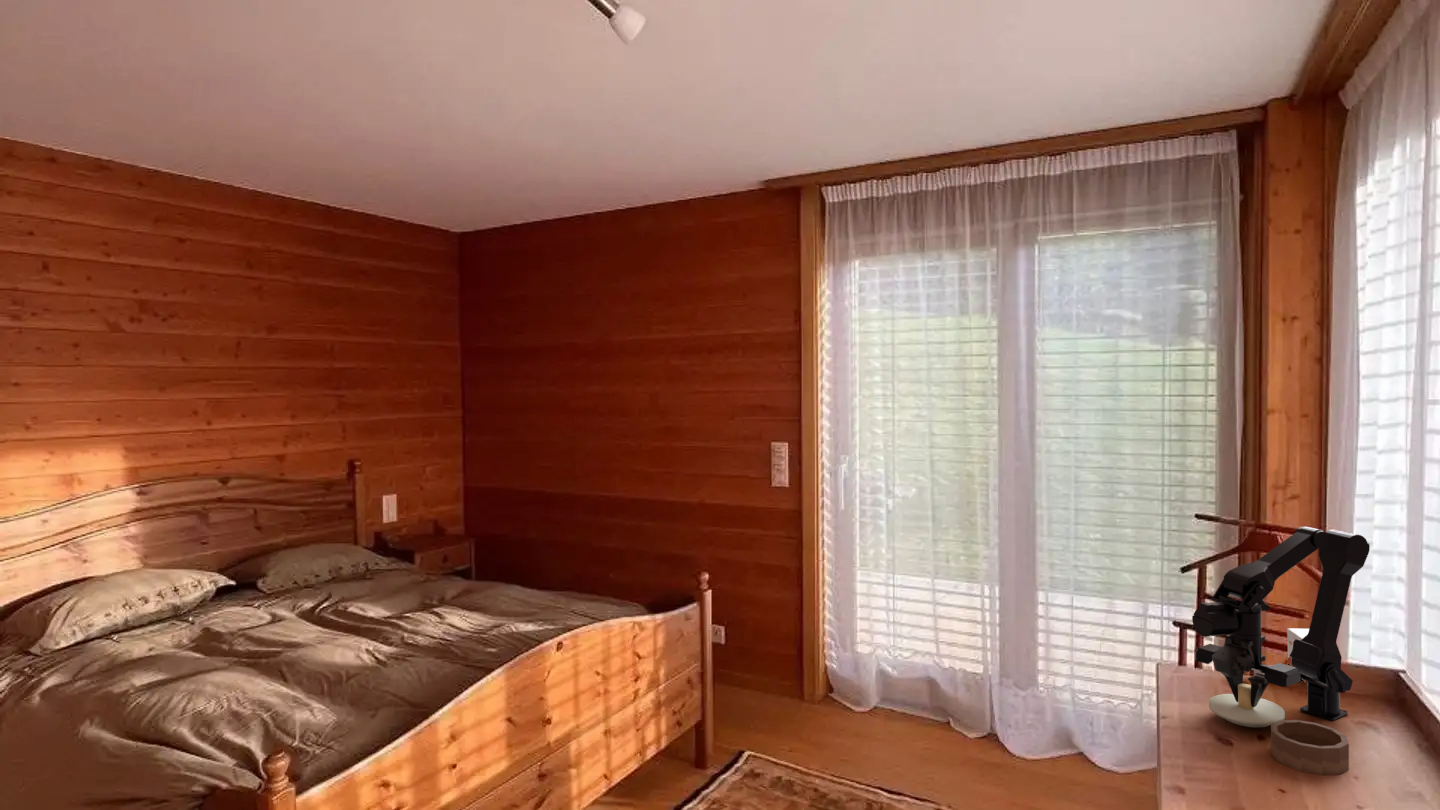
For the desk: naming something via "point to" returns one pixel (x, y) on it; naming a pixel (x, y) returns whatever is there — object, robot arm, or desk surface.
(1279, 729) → the box
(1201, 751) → the desk surface
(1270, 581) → the robot arm
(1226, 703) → the lid
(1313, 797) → the desk surface
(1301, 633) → the small box
